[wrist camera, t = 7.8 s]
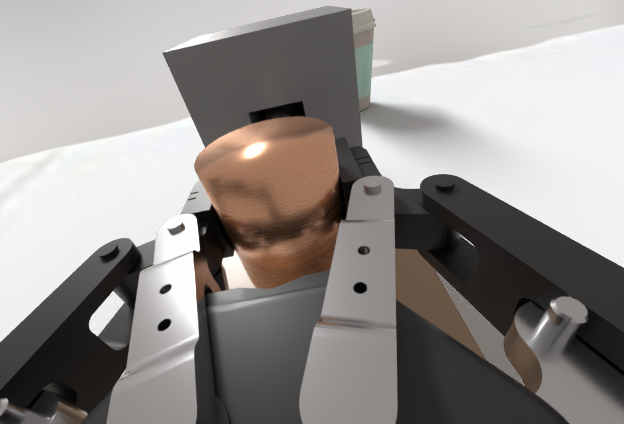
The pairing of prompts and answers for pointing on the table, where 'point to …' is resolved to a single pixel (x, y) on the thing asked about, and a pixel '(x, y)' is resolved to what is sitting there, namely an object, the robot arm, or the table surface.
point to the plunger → (277, 194)
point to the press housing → (309, 103)
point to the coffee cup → (363, 52)
